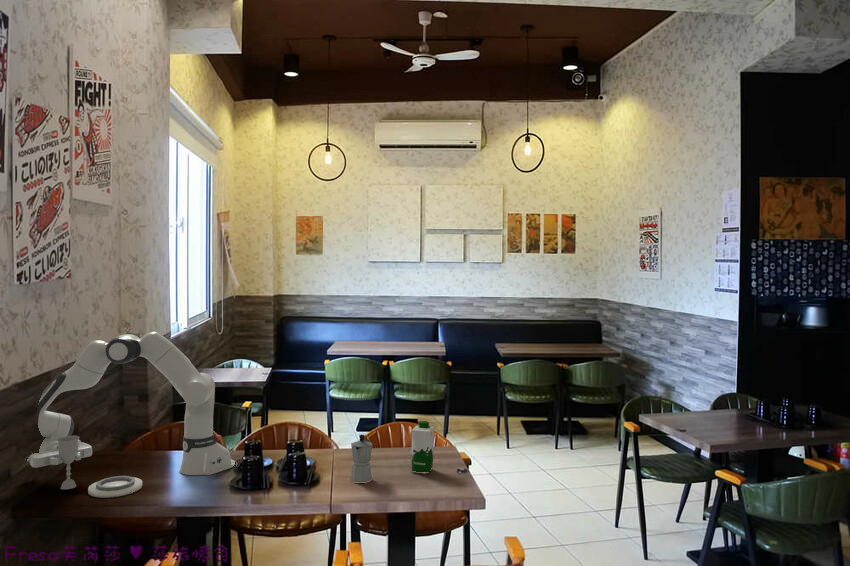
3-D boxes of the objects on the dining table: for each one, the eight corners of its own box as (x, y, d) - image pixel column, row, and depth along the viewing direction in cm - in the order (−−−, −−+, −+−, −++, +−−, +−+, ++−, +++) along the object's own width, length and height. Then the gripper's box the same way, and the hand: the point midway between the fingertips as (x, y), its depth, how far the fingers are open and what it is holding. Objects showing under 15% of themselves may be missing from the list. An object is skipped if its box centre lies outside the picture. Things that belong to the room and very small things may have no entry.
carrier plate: (129, 477, 241) (129, 470, 241) (151, 488, 229) (151, 481, 229) (80, 489, 227) (80, 482, 227) (100, 501, 215) (100, 493, 215)
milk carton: (434, 468, 258) (435, 421, 258) (429, 475, 249) (430, 426, 249) (414, 467, 260) (415, 420, 260) (409, 473, 251) (409, 425, 251)
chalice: (75, 482, 230) (75, 434, 229) (83, 486, 225) (82, 437, 225) (53, 487, 224) (53, 438, 224) (61, 491, 220) (61, 442, 219)
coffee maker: (367, 486, 235) (367, 439, 235) (345, 484, 237) (346, 438, 237) (377, 474, 250) (378, 430, 250) (357, 472, 252) (357, 428, 251)
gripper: (23, 450, 225) (37, 457, 216) (83, 438, 240) (98, 445, 231) (23, 467, 225) (37, 475, 216) (83, 454, 240) (98, 461, 232)
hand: (69, 459), depth 224 cm, fingers closed on chalice, 5 cm apart
